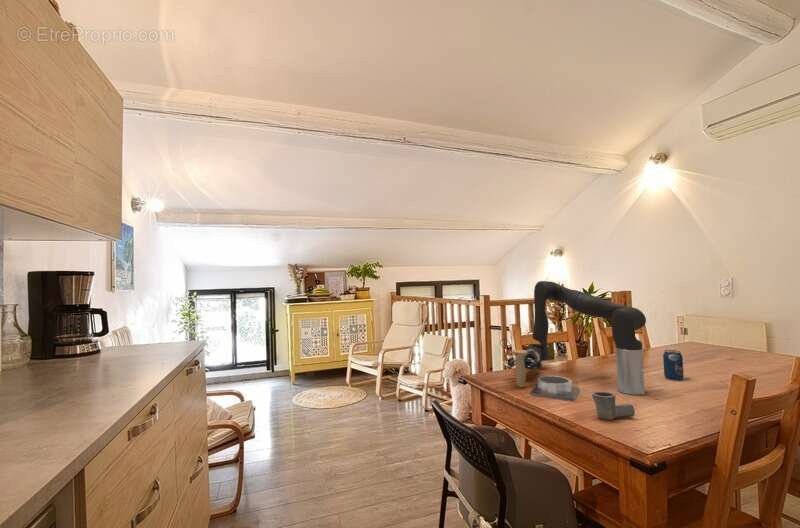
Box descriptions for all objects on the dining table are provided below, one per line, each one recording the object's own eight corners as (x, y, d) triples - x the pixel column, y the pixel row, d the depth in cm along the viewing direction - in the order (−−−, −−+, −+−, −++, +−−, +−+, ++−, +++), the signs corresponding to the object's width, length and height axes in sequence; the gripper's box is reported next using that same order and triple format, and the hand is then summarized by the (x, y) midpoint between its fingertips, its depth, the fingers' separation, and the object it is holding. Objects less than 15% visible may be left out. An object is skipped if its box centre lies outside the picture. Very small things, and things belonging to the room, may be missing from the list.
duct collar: (579, 389, 154) (578, 377, 154) (574, 401, 141) (573, 387, 141) (538, 384, 163) (538, 373, 163) (530, 395, 149) (529, 382, 149)
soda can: (681, 381, 160) (679, 353, 161) (662, 378, 166) (660, 351, 166) (685, 378, 165) (684, 351, 165) (667, 375, 170) (665, 349, 170)
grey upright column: (517, 383, 165) (516, 349, 165) (531, 387, 160) (529, 351, 160) (511, 386, 162) (510, 351, 162) (524, 389, 157) (523, 353, 157)
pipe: (638, 420, 121) (636, 395, 121) (598, 422, 121) (596, 396, 121) (626, 414, 127) (625, 390, 127) (588, 415, 127) (587, 391, 127)
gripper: (514, 349, 179) (503, 356, 166) (545, 351, 172) (537, 358, 158) (514, 365, 179) (504, 373, 165) (546, 368, 172) (538, 376, 158)
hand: (520, 366), depth 162 cm, fingers open, 8 cm apart
